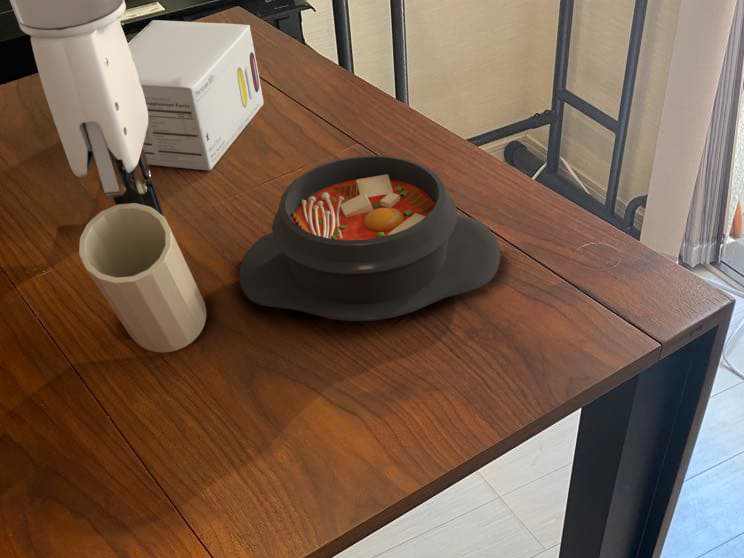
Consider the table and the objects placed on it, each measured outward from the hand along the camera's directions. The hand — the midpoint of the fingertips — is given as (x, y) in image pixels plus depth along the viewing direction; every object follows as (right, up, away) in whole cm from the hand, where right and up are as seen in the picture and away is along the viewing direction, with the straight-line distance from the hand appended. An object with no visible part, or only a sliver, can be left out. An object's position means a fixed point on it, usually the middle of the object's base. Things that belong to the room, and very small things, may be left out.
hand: (147, 230), depth 73 cm
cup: (0, -6, +5) cm, 8 cm away
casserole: (+19, -2, +9) cm, 21 cm away
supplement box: (-4, +22, +29) cm, 37 cm away
